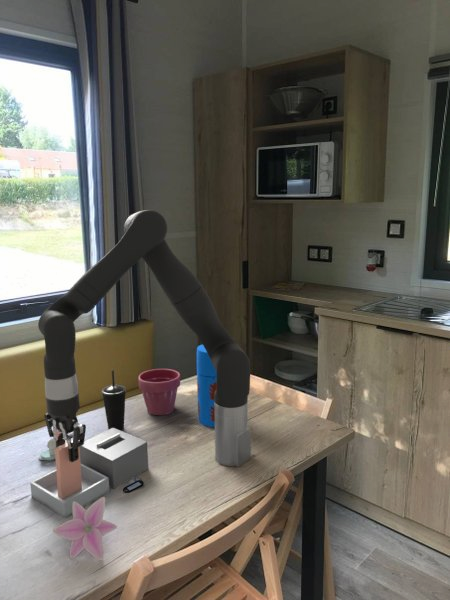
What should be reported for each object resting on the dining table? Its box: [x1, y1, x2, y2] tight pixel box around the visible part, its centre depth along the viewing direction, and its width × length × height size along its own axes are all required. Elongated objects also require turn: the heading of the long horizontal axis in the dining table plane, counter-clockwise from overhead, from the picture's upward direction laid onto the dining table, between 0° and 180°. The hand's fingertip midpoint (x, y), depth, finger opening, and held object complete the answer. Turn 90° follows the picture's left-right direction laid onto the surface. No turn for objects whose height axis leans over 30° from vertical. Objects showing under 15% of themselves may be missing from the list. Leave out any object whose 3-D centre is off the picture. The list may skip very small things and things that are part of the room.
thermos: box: [196, 344, 217, 428], centre depth 162 cm, size 11×11×25 cm
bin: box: [29, 464, 110, 519], centre depth 124 cm, size 14×13×4 cm
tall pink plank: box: [54, 439, 82, 499], centre depth 123 cm, size 2×6×13 cm, turn 145°
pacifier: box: [38, 437, 56, 461], centre depth 142 cm, size 7×6×6 cm
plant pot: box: [138, 368, 181, 416], centre depth 171 cm, size 14×14×13 cm
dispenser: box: [80, 428, 149, 490], centre depth 135 cm, size 14×12×9 cm
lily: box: [52, 496, 118, 561], centre depth 106 cm, size 12×12×10 cm
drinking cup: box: [101, 369, 127, 432], centre depth 156 cm, size 8×8×20 cm
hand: (67, 457), depth 122 cm, fingers open, 4 cm apart
